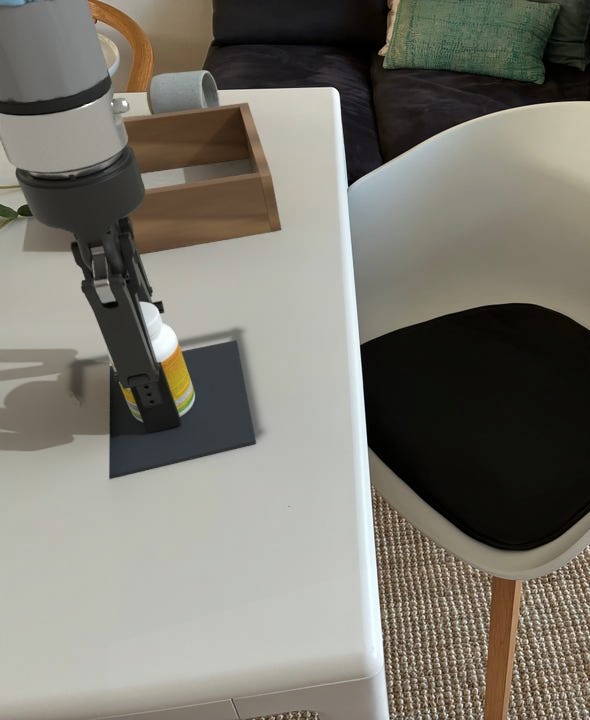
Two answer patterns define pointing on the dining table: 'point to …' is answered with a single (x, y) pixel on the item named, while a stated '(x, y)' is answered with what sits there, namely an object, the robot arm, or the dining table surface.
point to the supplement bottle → (164, 362)
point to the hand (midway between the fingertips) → (162, 402)
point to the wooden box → (203, 198)
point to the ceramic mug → (182, 92)
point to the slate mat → (186, 416)
